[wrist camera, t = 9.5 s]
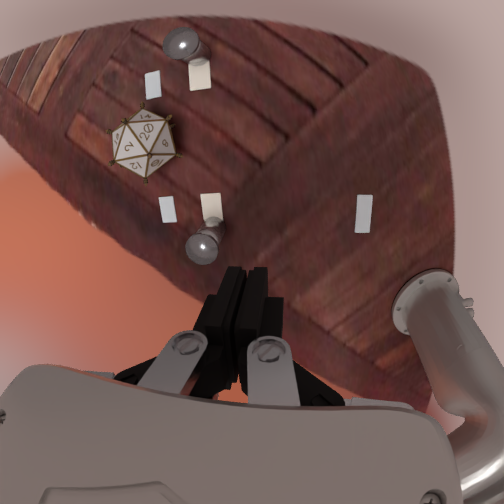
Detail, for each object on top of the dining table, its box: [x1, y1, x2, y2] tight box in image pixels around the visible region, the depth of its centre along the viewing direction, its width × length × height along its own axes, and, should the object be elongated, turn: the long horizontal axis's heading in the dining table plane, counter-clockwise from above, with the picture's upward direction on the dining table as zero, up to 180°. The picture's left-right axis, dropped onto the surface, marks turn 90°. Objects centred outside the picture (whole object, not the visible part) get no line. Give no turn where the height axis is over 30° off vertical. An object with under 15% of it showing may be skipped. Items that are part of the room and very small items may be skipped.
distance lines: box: [145, 61, 373, 233], centre depth 31 cm, size 27×22×1 cm
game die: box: [106, 102, 183, 185], centre depth 28 cm, size 9×8×10 cm
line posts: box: [163, 27, 226, 265], centre depth 28 cm, size 4×26×7 cm, turn 4°
